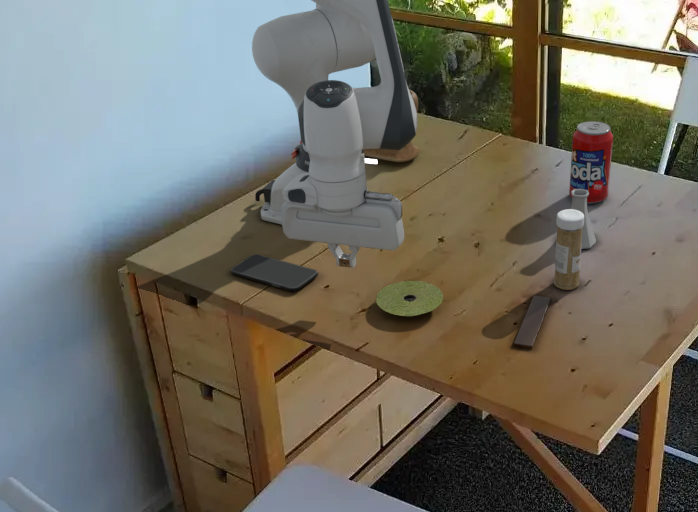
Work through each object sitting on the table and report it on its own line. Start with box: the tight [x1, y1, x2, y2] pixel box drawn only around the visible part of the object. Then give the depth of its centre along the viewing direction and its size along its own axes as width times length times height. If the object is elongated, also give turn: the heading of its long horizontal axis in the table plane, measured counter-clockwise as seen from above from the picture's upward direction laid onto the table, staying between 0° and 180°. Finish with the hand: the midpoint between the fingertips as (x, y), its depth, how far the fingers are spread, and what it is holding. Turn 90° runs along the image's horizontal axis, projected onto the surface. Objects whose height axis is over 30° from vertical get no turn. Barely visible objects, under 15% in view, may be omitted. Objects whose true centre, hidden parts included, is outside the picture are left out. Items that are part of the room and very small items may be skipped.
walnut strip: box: [513, 295, 552, 350], centre depth 153 cm, size 3×15×1 cm, turn 164°
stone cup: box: [364, 89, 420, 164], centre depth 205 cm, size 15×12×15 cm
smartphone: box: [230, 253, 319, 292], centre depth 167 cm, size 7×1×15 cm
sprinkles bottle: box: [553, 208, 584, 291], centre depth 159 cm, size 5×5×13 cm
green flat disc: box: [375, 280, 444, 317], centre depth 157 cm, size 11×11×2 cm
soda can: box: [568, 120, 614, 205], centre depth 186 cm, size 8×8×15 cm
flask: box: [570, 189, 597, 250], centre depth 172 cm, size 7×7×10 cm
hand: (346, 265), depth 156 cm, fingers closed
